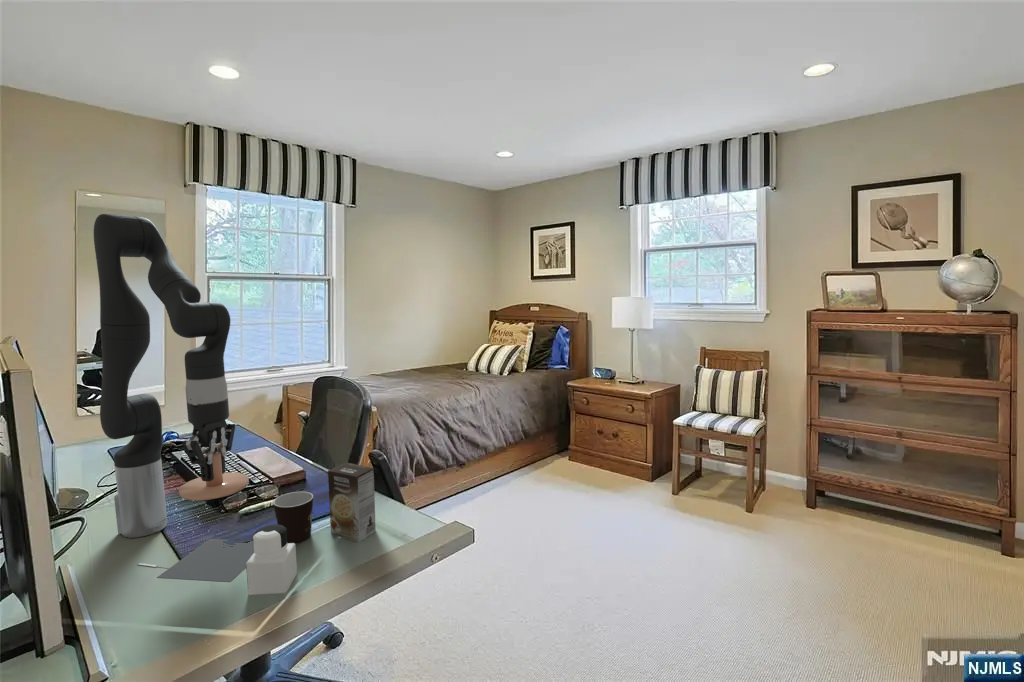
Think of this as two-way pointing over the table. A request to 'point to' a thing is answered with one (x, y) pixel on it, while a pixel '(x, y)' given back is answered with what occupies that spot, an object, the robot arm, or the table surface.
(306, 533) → the coffee mug
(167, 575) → the mat
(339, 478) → the coffee box
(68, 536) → the table surface
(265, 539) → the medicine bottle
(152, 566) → the white screwdriver
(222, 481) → the terracotta lid
